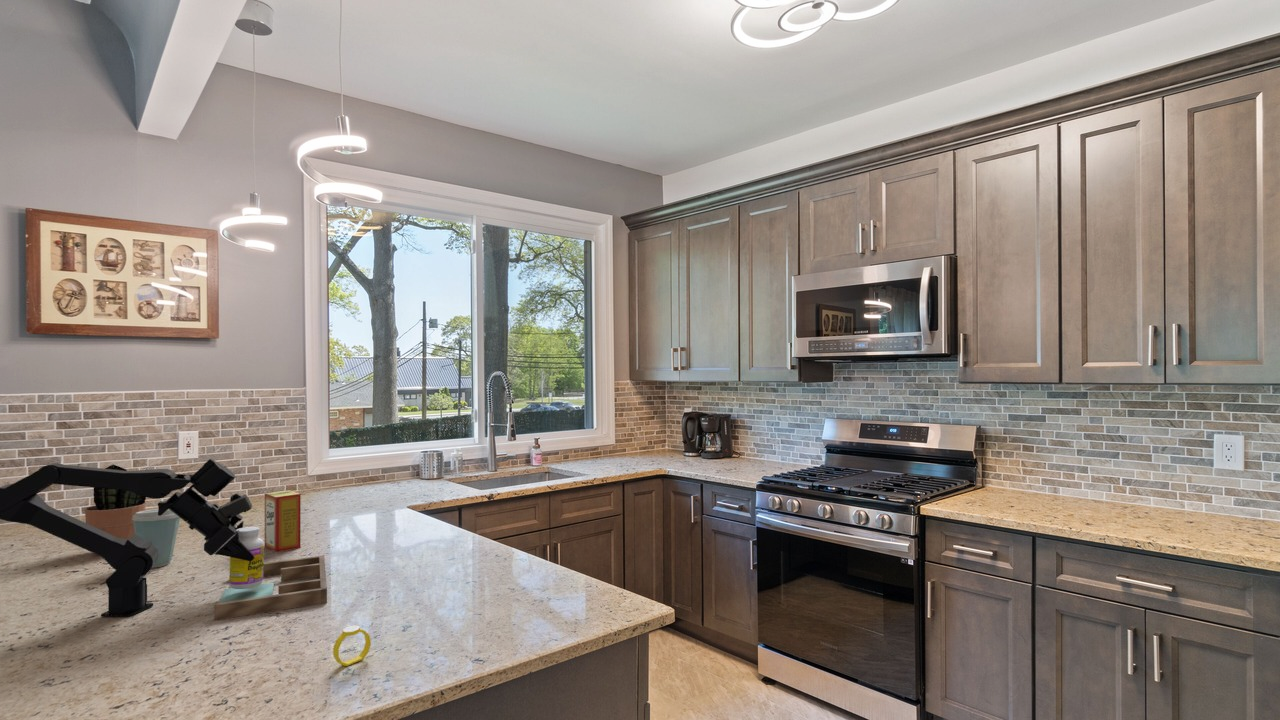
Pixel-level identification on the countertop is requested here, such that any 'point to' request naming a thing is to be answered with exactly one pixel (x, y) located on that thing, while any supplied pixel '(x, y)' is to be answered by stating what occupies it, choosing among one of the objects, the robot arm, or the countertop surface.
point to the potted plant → (114, 510)
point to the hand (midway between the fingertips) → (254, 555)
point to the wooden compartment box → (288, 594)
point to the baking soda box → (282, 520)
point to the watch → (348, 632)
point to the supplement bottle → (248, 571)
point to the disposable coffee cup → (158, 532)
